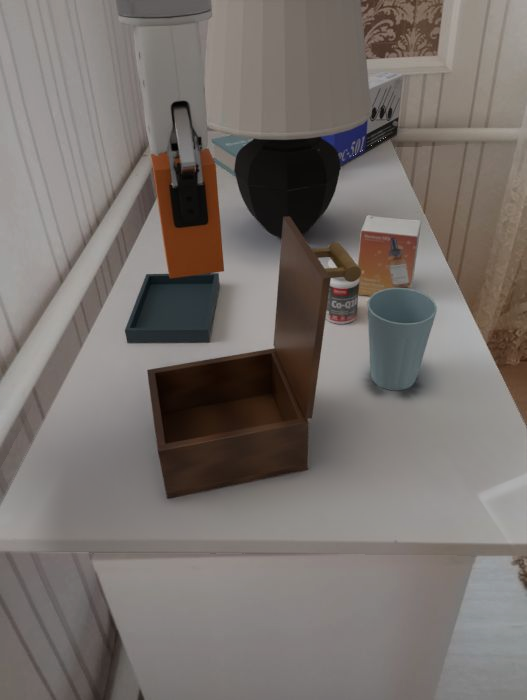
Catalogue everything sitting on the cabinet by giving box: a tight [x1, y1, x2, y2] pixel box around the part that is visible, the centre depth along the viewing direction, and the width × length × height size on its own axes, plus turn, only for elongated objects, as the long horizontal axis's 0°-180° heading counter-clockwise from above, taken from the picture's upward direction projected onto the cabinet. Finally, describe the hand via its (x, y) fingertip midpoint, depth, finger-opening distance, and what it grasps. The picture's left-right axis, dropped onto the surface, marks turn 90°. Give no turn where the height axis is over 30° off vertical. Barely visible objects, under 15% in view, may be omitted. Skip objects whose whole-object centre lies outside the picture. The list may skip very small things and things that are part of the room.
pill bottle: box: [325, 257, 359, 325], centre depth 82 cm, size 5×5×8 cm
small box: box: [357, 214, 422, 297], centre depth 87 cm, size 8×6×10 cm
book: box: [211, 135, 253, 178], centre depth 131 cm, size 23×16×5 cm
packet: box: [150, 147, 225, 279], centre depth 58 cm, size 6×4×11 cm
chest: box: [146, 347, 310, 499], centre depth 64 cm, size 15×13×7 cm
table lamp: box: [204, 0, 372, 238], centre depth 95 cm, size 27×27×40 cm
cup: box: [366, 288, 438, 391], centre depth 71 cm, size 8×8×10 cm
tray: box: [124, 272, 221, 344], centre depth 86 cm, size 15×11×2 cm
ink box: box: [321, 71, 404, 167], centre depth 137 cm, size 30×7×14 cm, turn 142°
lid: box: [273, 216, 361, 419], centre depth 59 cm, size 15×13×5 cm
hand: (188, 212), depth 58 cm, fingers closed on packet, 4 cm apart
